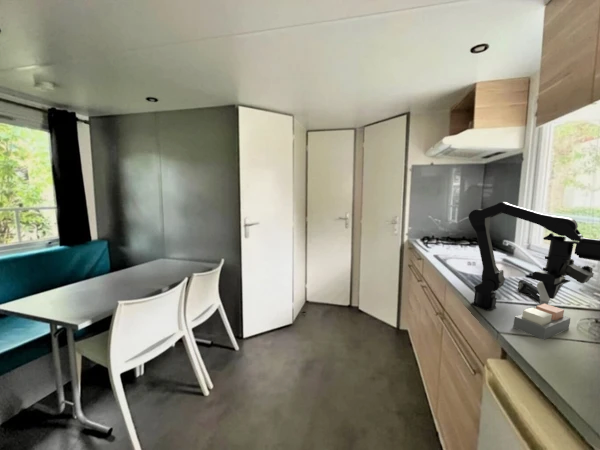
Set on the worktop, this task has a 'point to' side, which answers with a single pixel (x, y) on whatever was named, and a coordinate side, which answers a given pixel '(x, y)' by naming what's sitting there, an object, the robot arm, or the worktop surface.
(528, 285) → the can opener
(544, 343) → the worktop surface
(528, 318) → the cream key
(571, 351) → the worktop surface
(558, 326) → the keypad
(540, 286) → the lightbulb
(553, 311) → the terracotta key
